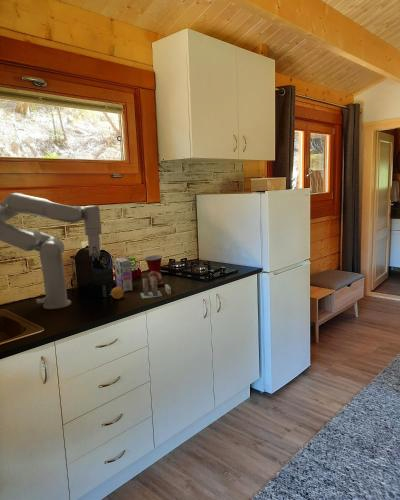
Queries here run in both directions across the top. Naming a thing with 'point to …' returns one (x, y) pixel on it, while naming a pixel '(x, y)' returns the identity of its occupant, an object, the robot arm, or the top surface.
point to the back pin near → (154, 287)
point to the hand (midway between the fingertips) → (96, 266)
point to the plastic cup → (154, 263)
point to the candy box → (123, 274)
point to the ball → (117, 292)
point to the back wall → (168, 289)
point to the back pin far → (151, 283)
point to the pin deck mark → (150, 295)
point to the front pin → (145, 287)
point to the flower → (156, 275)
